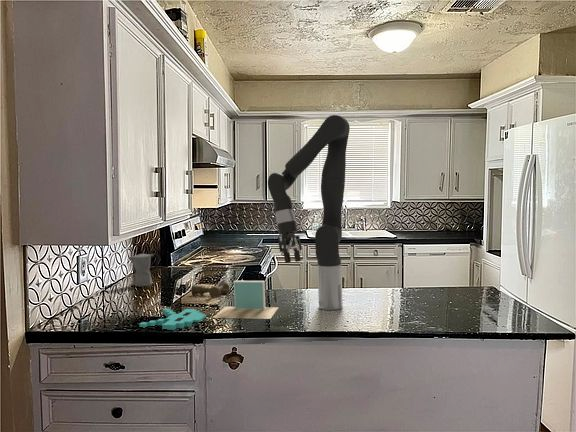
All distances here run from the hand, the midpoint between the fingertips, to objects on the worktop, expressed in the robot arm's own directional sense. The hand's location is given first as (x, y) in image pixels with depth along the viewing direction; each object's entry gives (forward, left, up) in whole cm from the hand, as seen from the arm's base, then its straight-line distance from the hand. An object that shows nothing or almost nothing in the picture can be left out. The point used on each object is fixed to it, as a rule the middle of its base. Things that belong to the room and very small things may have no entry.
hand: (293, 262), depth 181 cm
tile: (+17, +5, -18) cm, 25 cm away
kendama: (+41, -19, -19) cm, 49 cm away
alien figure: (+41, +19, -19) cm, 49 cm away
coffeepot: (+85, -40, -19) cm, 96 cm away
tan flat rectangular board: (+17, +10, -19) cm, 27 cm away
